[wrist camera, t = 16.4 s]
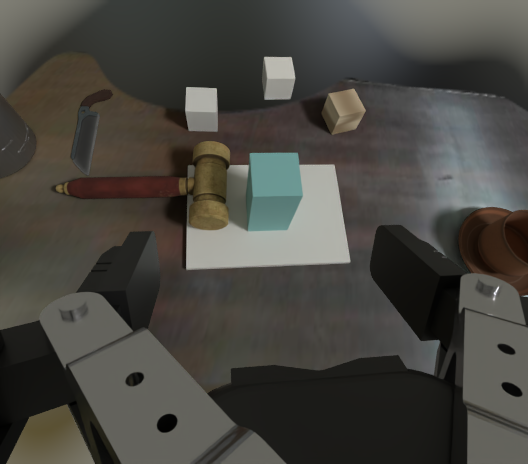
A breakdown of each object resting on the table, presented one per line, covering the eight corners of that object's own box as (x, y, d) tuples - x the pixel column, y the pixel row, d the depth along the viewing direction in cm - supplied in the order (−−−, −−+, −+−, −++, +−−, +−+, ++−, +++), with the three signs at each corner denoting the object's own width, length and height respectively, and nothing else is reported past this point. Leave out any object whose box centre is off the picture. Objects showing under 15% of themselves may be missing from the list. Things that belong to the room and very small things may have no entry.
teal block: (247, 231, 41) (252, 196, 32) (245, 195, 42) (249, 153, 34) (287, 230, 41) (303, 195, 32) (283, 194, 43) (297, 152, 34)
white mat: (186, 269, 39) (186, 268, 38) (188, 167, 44) (187, 165, 43) (348, 263, 41) (350, 262, 41) (333, 167, 46) (334, 164, 45)
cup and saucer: (525, 216, 46) (566, 197, 41) (547, 301, 42) (597, 293, 36) (444, 209, 46) (475, 188, 40) (458, 295, 41) (495, 285, 36)
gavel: (34, 219, 36) (53, 142, 39) (59, 233, 40) (74, 163, 44) (226, 215, 36) (228, 139, 39) (230, 230, 40) (231, 160, 44)
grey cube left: (188, 131, 46) (185, 111, 42) (189, 108, 47) (186, 87, 44) (217, 131, 46) (216, 112, 43) (217, 109, 48) (216, 88, 44)
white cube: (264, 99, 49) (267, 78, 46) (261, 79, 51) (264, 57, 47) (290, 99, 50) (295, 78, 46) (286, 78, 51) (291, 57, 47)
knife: (85, 91, 47) (83, 87, 46) (114, 92, 47) (112, 89, 47) (67, 176, 42) (64, 173, 41) (99, 177, 42) (97, 174, 42)
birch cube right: (331, 134, 48) (339, 116, 44) (321, 113, 49) (328, 93, 46) (355, 129, 49) (365, 110, 45) (344, 108, 50) (354, 88, 46)
